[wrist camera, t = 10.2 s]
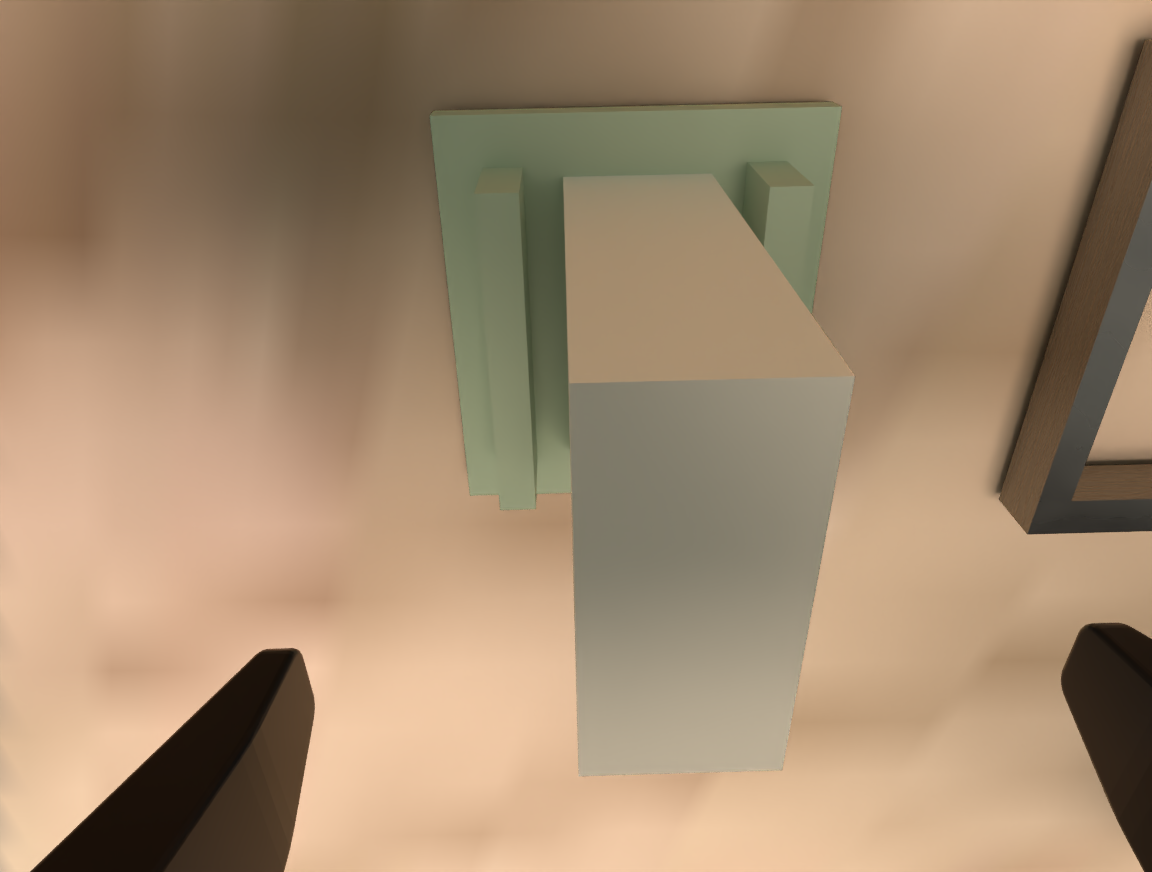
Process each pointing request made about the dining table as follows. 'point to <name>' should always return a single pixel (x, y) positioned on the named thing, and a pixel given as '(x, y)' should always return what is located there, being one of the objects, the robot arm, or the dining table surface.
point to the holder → (537, 246)
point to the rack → (1093, 351)
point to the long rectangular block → (691, 477)
